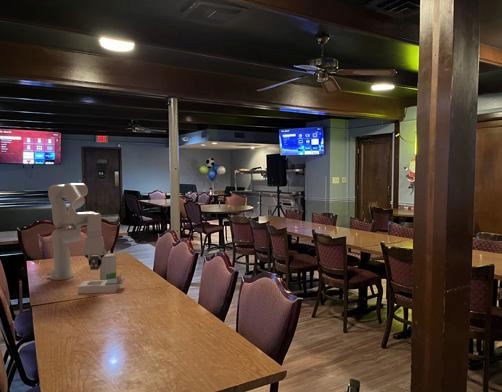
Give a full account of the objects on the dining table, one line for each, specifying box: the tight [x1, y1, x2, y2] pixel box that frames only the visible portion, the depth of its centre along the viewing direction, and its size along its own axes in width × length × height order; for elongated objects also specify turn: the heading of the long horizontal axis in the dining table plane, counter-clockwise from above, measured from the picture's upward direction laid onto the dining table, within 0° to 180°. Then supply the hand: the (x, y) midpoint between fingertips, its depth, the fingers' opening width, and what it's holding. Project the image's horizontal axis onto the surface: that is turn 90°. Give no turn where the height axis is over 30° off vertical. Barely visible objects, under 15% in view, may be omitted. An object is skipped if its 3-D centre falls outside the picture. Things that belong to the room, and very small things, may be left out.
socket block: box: [77, 279, 121, 295], centre depth 221 cm, size 20×12×4 cm, turn 99°
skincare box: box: [99, 253, 118, 280], centre depth 243 cm, size 8×7×16 cm
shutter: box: [105, 272, 126, 285], centre depth 222 cm, size 9×10×4 cm
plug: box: [89, 255, 100, 271], centre depth 220 cm, size 4×6×7 cm, turn 9°
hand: (95, 265), depth 221 cm, fingers closed on plug, 4 cm apart
